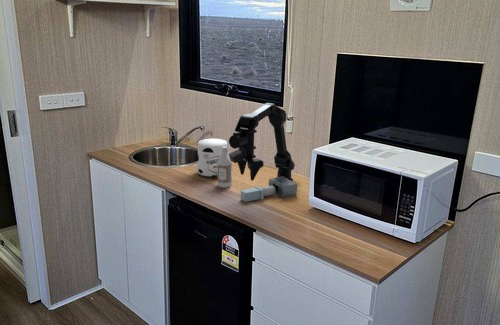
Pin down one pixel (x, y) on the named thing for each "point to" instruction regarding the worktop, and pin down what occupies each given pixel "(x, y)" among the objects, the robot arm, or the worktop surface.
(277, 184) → the block
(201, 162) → the milk container
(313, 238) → the worktop surface
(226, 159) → the bath foam
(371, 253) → the worktop surface
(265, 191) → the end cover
